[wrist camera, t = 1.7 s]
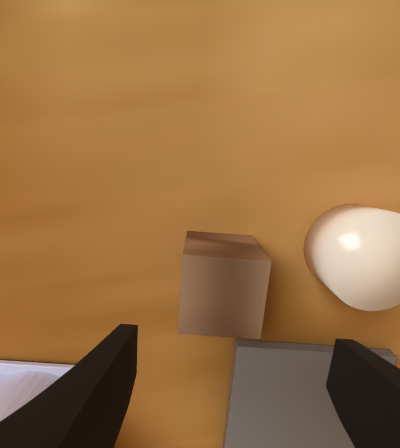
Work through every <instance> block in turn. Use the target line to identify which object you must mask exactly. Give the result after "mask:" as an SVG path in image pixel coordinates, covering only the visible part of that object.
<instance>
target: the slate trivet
mask: <svg viewBox="0 0 400 448" xmlns="http://www.w3.org/2000/svg"><path fill="white" fill-rule="evenodd" d="M368 349H369V350H371V351H373V352H374V353H376V354H377V355H379V356H380V357H382V358H383V359H385V360H387V361H388V362H390V363H391V364H393V365H394V366H395V364H396V360H397V356H396V355H395V354H394V353H393V352H392V351H391V350H390V349H375V348H368ZM333 350H334V346H330V345H315V344H300V343H285V342H270V341H255V340H240V339H236V341H235V349H234V357H233V366H232V374H231V382H230V390H229V398H228V407H227V415H226V423H225V431H224V439H223V448H355V447H354V445H353V443H352V442H351V440H350V438H349V436H348V434H347V432H346V430H345V429H344V427H343V425H342V423H341V421H340V419H339V417H338V415H337V412H336V410H335V408H334V406H333V403H332V401H331V398H330V396H329V393H328V391H327V388H326V382H327V377H328V373H329V368H330V364H331V359H332V355H333Z"/></svg>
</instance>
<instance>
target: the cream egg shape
mask: <svg viewBox="0 0 400 448" xmlns="http://www.w3.org/2000/svg"><path fill="white" fill-rule="evenodd" d="M304 257H305V261H306V264H307V266H308V268H309V269H310V271H311V272H312V273H313V274H314V275H315V276H316V277H317V278H318V279H319V280H320V281H321V282H322V283H323V284H324V285H326V286H327V287H328V288H329V289H330V290H331V291H332V292H333V293H334V294H335V295H336V296H338V297H339V298H340V299H341V300H342V301H343V302H345V303H346V304H348V305H349V306H351V307H354V308H356V309H360V310H365V311H381V310H386V309H390V308H393V307H396V306H398V305H400V213H396V212H391V211H387V210H382V209H378V208H373V207H368V206H364V205H359V204H345V205H340V206H337V207H334V208H332V209H330V210H328V211H326V212H325V213H323V214H322V215H321V216H320V217H318V218H317V219H316V221H315V222H314V223H313V224H312V226H311V227H310V229H309V231H308V233H307V235H306V238H305V242H304Z"/></svg>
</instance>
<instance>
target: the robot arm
mask: <svg viewBox="0 0 400 448" xmlns="http://www.w3.org/2000/svg"><path fill="white" fill-rule="evenodd" d="M137 333H138V325H128V324H120V325H119V326H118V327H117V328H116V329H114V330H113V331H112V332H111V333H110V334H109V335H108V336H107V337H106V338H105V339H104V340H103V341H101V342H100V343H99V344H98V345H97V346H96V347H95V348H94V349H93V350H92V351H90V352H89V353H88V354H87V355H86V356H85V357H84V358H83V359H81V360H80V361H79V362H78V363H77V364H76V365H69V364H53V363H38V362H22V361H6V360H0V448H114V445H115V442H116V440H117V437H118V434H119V431H120V428H121V426H122V423H123V420H124V417H125V414H126V411H127V408H128V406H129V402H130V398H131V394H132V390H133V386H134V382H135V378H136V372H137ZM326 388H327V391H328V393H329V396H330V398H331V401H332V403H333V406H334V408H335V410H336V412H337V415H338V417H339V419H340V421H341V423H342V425H343V427H344V429H345V430H346V432H347V434H348V436H349V438H350V440H351V442H352V443H353V445H354V447H355V448H400V369H399V368H397V367H396V366H394V365H393V364H391V363H390V362H388V361H387V360H385V359H383V358H382V357H380V356H379V355H377V354H376V353H374V352H373V351H371V350H369V349H368V348H366V347H365V346H363V345H361V344H360V343H358V342H356V341H354V340H350V339H336V341H335V346H334V350H333V355H332V359H331V364H330V368H329V373H328V377H327V382H326Z"/></svg>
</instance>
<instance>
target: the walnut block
mask: <svg viewBox="0 0 400 448" xmlns="http://www.w3.org/2000/svg"><path fill="white" fill-rule="evenodd" d="M271 262H272V261H271V260H270V258H269V257H268V256H267V254H266V253H265V252H264V251H263V249H262V248H261V247H260V246H259V244H258V243H257V242H256V240H255V239H254V238H253V237H252V236H250V235H236V234H222V233H208V232H195V231H187V236H186V241H185V246H184V251H183V257H182V273H181V289H180V304H179V320H178V334H190V335H205V336H220V337H235V338H250V339H260V338H261V331H262V325H263V318H264V311H265V304H266V297H267V290H268V283H269V276H270V269H271Z"/></svg>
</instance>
